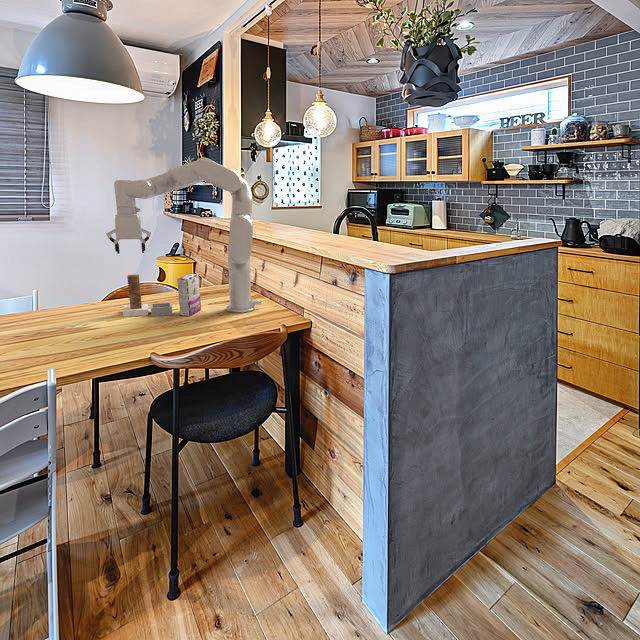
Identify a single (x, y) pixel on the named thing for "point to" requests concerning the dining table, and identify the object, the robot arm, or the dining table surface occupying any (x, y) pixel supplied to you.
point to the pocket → (161, 309)
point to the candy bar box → (189, 294)
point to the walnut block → (134, 291)
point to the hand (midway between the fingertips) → (130, 253)
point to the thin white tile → (135, 311)
